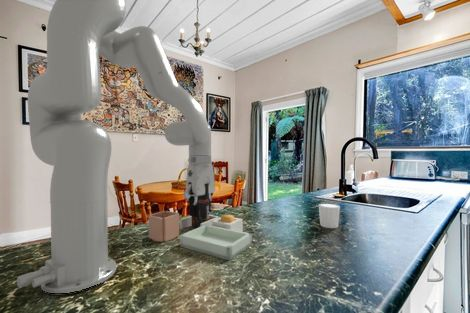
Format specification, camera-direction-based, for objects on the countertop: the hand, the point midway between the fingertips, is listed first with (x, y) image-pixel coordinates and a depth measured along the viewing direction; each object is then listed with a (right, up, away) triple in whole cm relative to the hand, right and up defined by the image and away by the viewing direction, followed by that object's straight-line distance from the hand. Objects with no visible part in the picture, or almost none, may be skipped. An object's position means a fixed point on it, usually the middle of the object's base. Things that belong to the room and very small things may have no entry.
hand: (200, 213), depth 78 cm
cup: (-9, -5, -9) cm, 14 cm away
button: (+9, -4, -6) cm, 12 cm away
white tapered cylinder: (+44, -5, +1) cm, 44 cm away
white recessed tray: (+4, -5, -3) cm, 7 cm away
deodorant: (0, -5, 0) cm, 5 cm away
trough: (+7, -5, -16) cm, 18 cm away
